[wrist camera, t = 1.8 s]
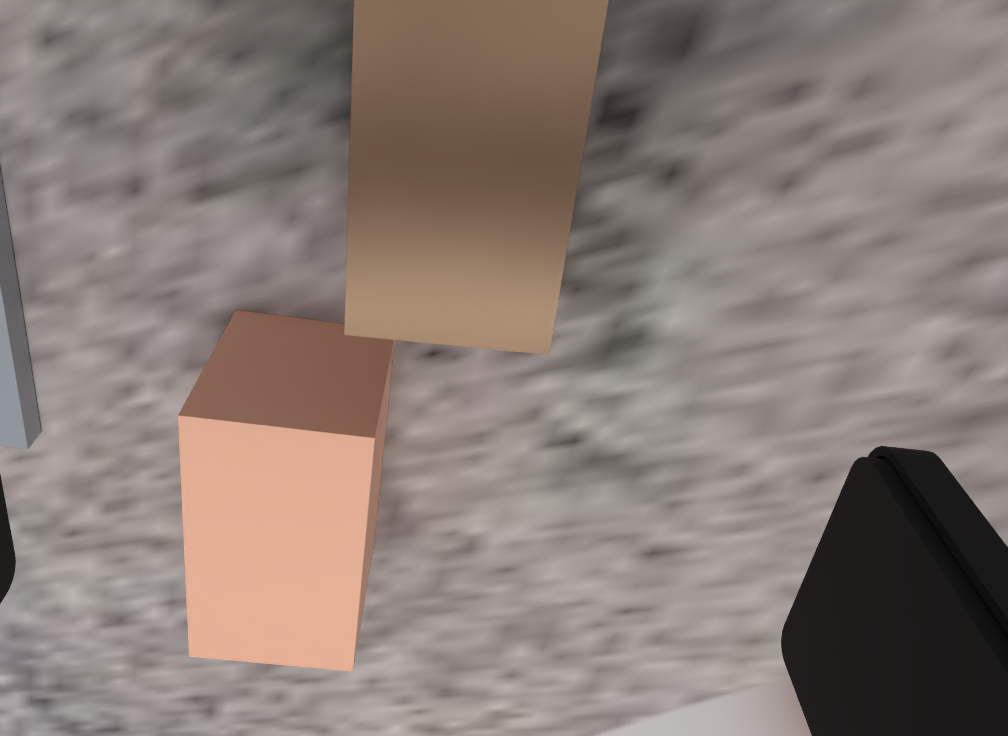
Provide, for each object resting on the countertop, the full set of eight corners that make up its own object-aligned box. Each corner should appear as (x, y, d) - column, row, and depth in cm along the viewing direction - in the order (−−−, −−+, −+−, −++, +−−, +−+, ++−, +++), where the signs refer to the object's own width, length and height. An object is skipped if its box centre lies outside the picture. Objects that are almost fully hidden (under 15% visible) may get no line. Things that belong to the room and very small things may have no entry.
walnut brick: (388, -99, 22) (356, -81, 16) (587, -72, 22) (616, -47, 17) (372, 238, 26) (344, 335, 21) (537, 256, 27) (549, 354, 21)
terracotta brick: (236, 308, 27) (178, 415, 22) (396, 328, 28) (375, 438, 23) (238, 525, 32) (189, 656, 27) (374, 539, 32) (352, 671, 27)
